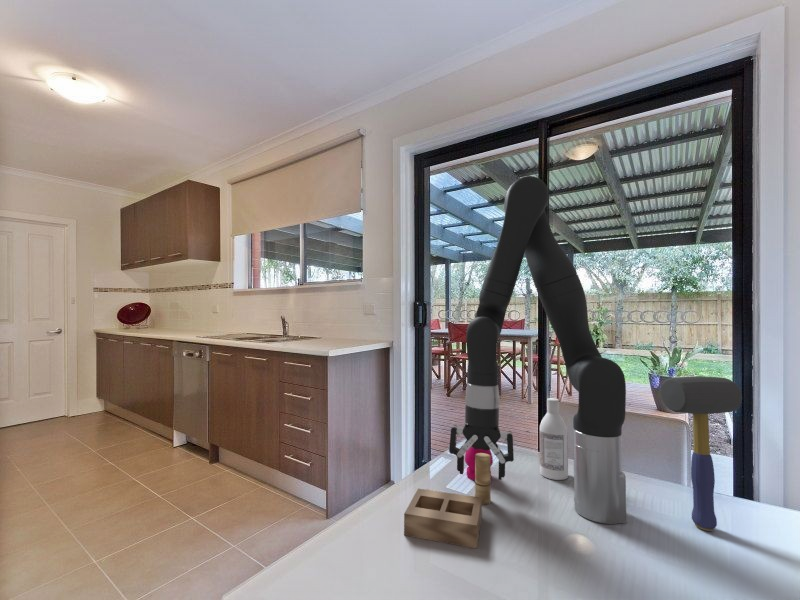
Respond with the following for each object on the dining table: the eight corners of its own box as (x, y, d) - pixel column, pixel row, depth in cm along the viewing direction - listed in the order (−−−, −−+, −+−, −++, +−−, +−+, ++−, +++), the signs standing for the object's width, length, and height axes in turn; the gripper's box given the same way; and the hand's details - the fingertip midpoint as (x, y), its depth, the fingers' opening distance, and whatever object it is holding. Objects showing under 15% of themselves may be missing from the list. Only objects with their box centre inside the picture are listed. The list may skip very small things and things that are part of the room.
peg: (491, 498, 86) (491, 453, 86) (490, 505, 82) (490, 459, 83) (475, 495, 87) (475, 452, 87) (474, 503, 83) (474, 457, 84)
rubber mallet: (715, 517, 78) (710, 373, 80) (752, 538, 71) (746, 379, 72) (660, 519, 77) (656, 373, 79) (691, 540, 70) (686, 379, 71)
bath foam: (549, 468, 103) (548, 395, 104) (573, 476, 98) (572, 399, 99) (534, 474, 99) (533, 398, 100) (559, 483, 94) (558, 403, 95)
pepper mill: (495, 482, 94) (495, 402, 95) (467, 482, 94) (467, 402, 95) (489, 471, 101) (489, 396, 102) (462, 470, 101) (462, 396, 102)
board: (481, 517, 77) (481, 497, 77) (476, 548, 67) (476, 525, 67) (418, 507, 81) (418, 488, 81) (404, 535, 70) (404, 513, 71)
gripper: (514, 403, 87) (513, 474, 86) (453, 397, 91) (451, 465, 90) (514, 410, 80) (513, 487, 79) (448, 404, 84) (446, 477, 83)
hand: (480, 475), depth 84 cm, fingers open, 8 cm apart
